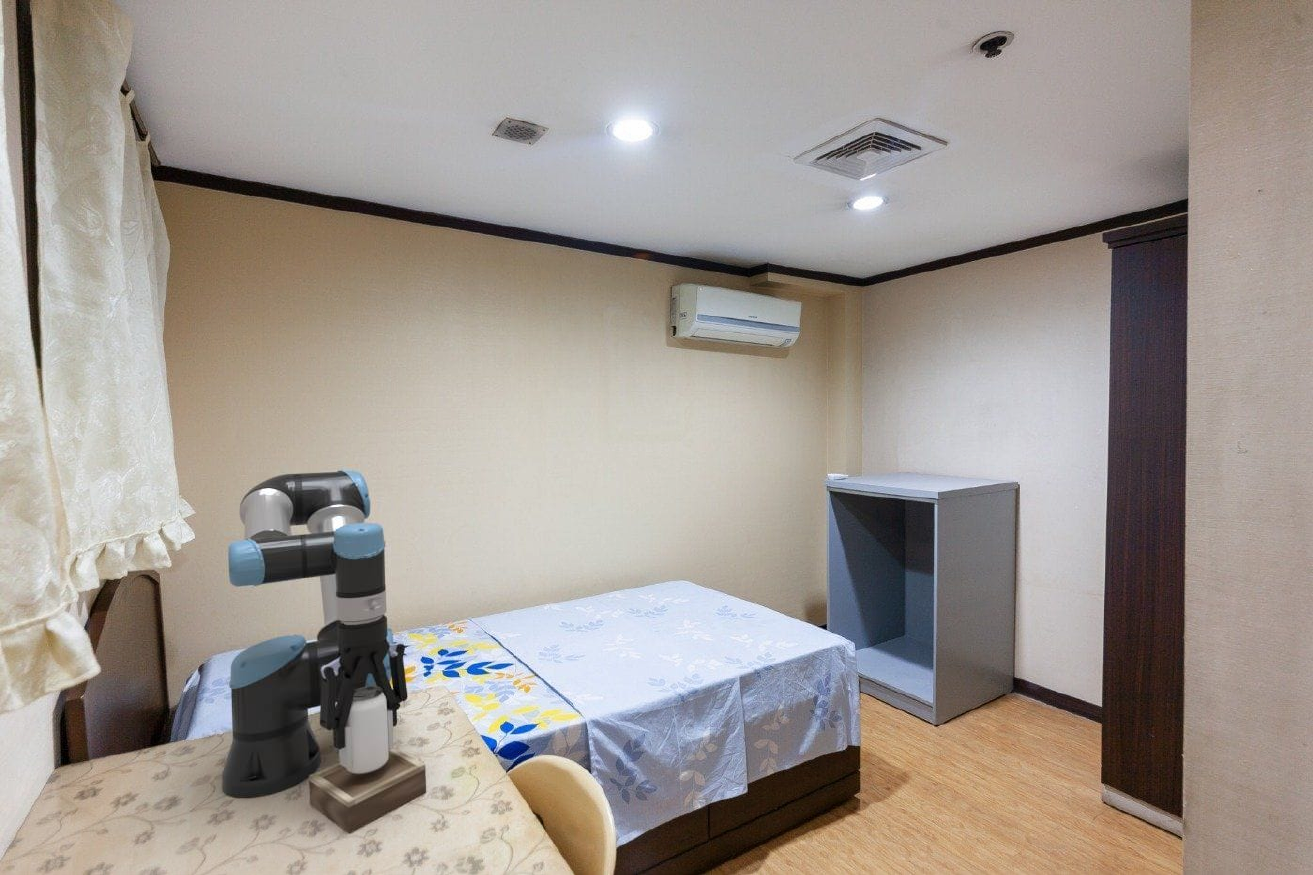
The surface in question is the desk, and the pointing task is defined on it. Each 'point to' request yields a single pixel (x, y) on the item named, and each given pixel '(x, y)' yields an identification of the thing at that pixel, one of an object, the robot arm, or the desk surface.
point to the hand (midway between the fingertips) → (367, 755)
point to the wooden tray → (366, 790)
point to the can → (368, 730)
